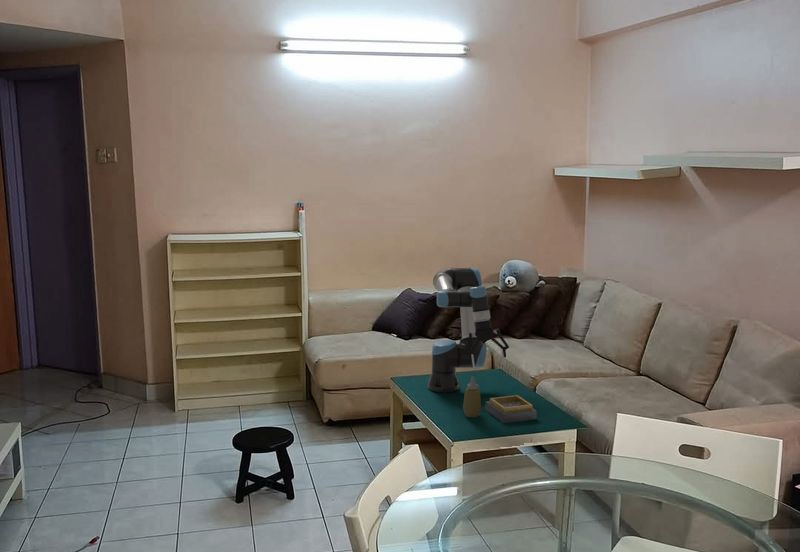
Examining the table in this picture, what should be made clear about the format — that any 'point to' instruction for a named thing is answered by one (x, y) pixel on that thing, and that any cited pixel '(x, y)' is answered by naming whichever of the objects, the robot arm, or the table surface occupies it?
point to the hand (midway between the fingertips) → (489, 366)
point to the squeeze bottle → (472, 399)
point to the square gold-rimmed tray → (510, 409)
